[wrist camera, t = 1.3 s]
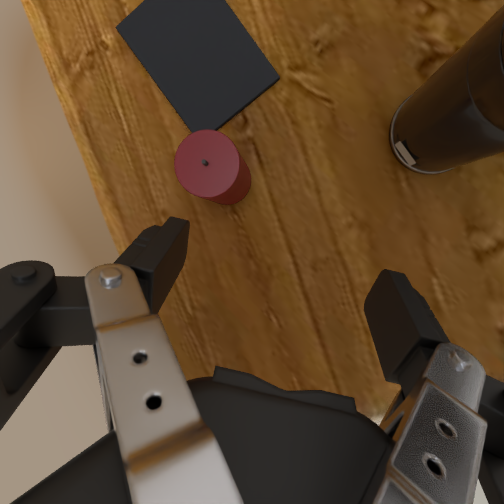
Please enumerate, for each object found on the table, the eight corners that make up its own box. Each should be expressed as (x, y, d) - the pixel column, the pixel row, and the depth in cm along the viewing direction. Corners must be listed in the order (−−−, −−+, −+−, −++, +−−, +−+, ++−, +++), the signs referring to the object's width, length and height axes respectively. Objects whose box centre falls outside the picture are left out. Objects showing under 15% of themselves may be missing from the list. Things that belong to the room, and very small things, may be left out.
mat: (194, -41, 34) (192, -46, 34) (279, 79, 34) (279, 76, 34) (118, 30, 36) (115, 27, 35) (200, 143, 36) (199, 142, 36)
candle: (231, 145, 36) (210, 110, 25) (260, 184, 36) (251, 168, 25) (193, 175, 37) (156, 155, 26) (222, 214, 37) (197, 210, 26)
